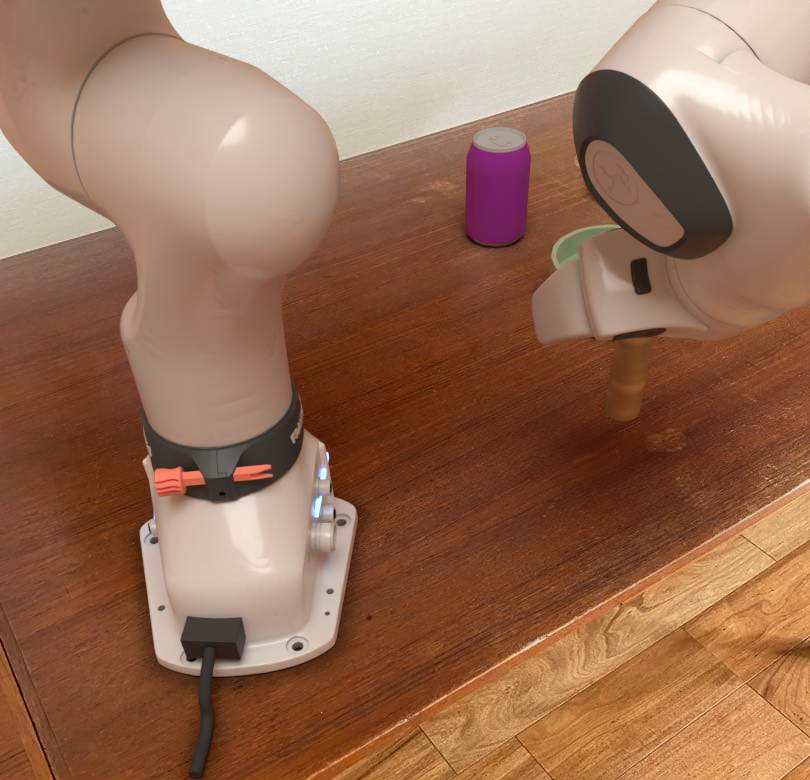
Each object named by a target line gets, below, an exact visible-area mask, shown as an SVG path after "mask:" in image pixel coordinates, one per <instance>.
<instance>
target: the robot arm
mask: <svg viewBox="0 0 810 780" xmlns="http://www.w3.org/2000/svg"><path fill="white" fill-rule="evenodd" d="M571 117H572V119H571V121H572V137H573V144H574V149H575V154H576V158H577V162H578V165H579V170H580V173H581V176H582V179H583V182H584V184H585V186H586V189H587V190H588V192H589V193H590V195H591V197H592V198H593V199H594V201H596V203H597V204H598V206H600V208H601V209H602V210H603V211H604V213H606V214H607V216H608V217H609V218H610V219H611V220H612V221H613V222H614V223H615V224H616V225H619V226H620V227H621V228H618V229H614V230H610V231H607V232H605V233H602V234H598V235H595V236H592V237H590V238H588V239H586V240H585V241H584V242H583V243H582V244H581V245H580V246H579V258H577V259H575V260H573V261H571V262H569V263H567V264H565V265H563V266H562V267H560V268H559V269H558V270H556V271H555V272H554V273H553V274H552V275H551V276H550V277H549V276H548V277H547V278H546V279H545V280H544V281H542V283H541V284H540V285H539V286H538V287H537V289H536V290H535V291H534V292H533V294H532V296H531V299H530V302H531V303H530V308H531V316H532V321H533V327H534V332H535V335H536V339H537V341H538V342H539V343H540V345H543V346H553V345H557V344H562V343H566V342H572V341H577V340H579V341H580V340H583V339H584V340H585V339H591V338H594V339H595V340H596V341H599V342H605V341H615V340H622V339H631V338H644V337H654V336H655V338H656V337H657V338H670V339H681V340H682V339H685V340H686V339H691V340H696V341H701V342H716V341H717V342H718V341H723V340H726V339H729V338H732V337H735V336H737V335H739V334H742V333H745V332H747V331H749V330H752V329H754V328H756V327H759V326H761V325H764V324H766V323H769V322H771V321H773V320H776V319H778V318H779V317H781V316H782V315H784V314H785V313H787V312H788V311H789V310H794V309H795V310H796V309H801V308H804V307H807V306H810V0H656V1H655V2H654V3H653V4H652V5H651V6H650V8H649V9H647V10H646V12H644V13H643V14H641V15H640V16H639V17H638V19H637V20H636V21H634V23H633V24H632V25H631V26H630V27H629V28H628V29H627V30H626V31H625V32H624V33H623V34H622V35H621V37H620V38H618V40H617V41H616V42H615V43H614V44H613V45H612V46H611V48H610V49H609V50H608V51H607V52H606V53H605V54H604V56H602V57H601V59H600V60H599V61H598V63H596V64H595V66H594V67H592V69H591V70H590V71H589V72H588V74H586V75H585V76H584V77H582V80H581V81H580V82H579V84H578V86H577V88H576V91H575V93H574V99H573V105H572V116H571ZM0 131H1V133H2V134H3V136H4V138H5V139H6V140H7V142H8V143H9V144H10V145H11V147H12V148H13V149H14V150H15V151H16V153H17V154H18V155H19V156H20V157H21V159H23V161H24V162H26V164H27V165H28V166H29V167H30V168H31V169H32V170H33V171H34V172H35V173H36V174H37V175H38V176H39V177H40V178H41V179H42V180H43V181H44V182H45V183H46V184H48V186H50V187H51V188H52V189H54V190H55V191H56V192H58V193H60V194H62V195H63V196H65V197H67V198H69V199H71V200H72V201H74V202H76V203H78V204H80V205H81V206H83V207H85V208H87V209H89V210H91V211H93V212H94V213H97V214H98V215H100V216H102V217H103V218H105V219H107V220H109V221H110V222H112V223H113V224H114V225H115V227H116V228H117V229H118V231H119V233H121V235H122V236H123V238H124V239H125V242H126V243H127V244H128V246H129V248H130V250H131V253H132V256H133V258H134V263H135V269H136V278H137V279H136V280H137V281H136V283H137V290H135V292H134V293H133V294H132V295H131V297H130V298H129V299H128V300H127V302H126V304H125V306H124V307H123V310H122V312H121V316H120V320H119V336H120V339H121V342H122V346H123V349H124V351H125V354H126V357H127V360H128V364H129V367H130V371H131V373H132V376H133V379H134V382H135V385H136V388H137V392H138V395H139V398H140V401H141V404H142V407H141V420H142V428H143V429H142V431H143V437H144V442H145V446H146V451H147V452H148V454H147V455H146V457H145V458H144V459H143V460H142V466H143V468H144V471H145V473H146V477H147V479H148V482H149V489H150V496H151V502H152V503H151V504H152V508H153V509H152V510H153V517H152V518H150V519H148V521H146V522H145V523H144V524H143V525H142V526H141V527H140V529H139V541H140V549H141V557H142V563H143V571H144V579H145V580H144V581H145V588H146V595H147V602H148V612H149V618H150V624H151V626H150V627H151V633H152V641H153V649H154V653H155V657H156V661H157V663H158V664H159V665H160V666H162V667H164V668H166V669H167V670H168V669H169V670H170V671H173V672H177V673H180V674H183V675H184V674H185V675H188V676H189V675H190V676H196V677H199V679H198V691H197V693H198V695H197V699H198V704H199V710H200V718H201V719H200V727H199V735H198V738H197V739H198V740H197V744H196V746H195V750H194V754H193V757H192V761H191V764H190V768H189V772H188V776H189V777H191V778H194V779H199V778H202V776H203V771H204V769H205V768H204V767H205V764H206V760H207V757H208V754H209V750H210V747H211V746H210V745H211V742H212V737H213V731H214V723H215V712H214V707H213V702H212V701H213V700H212V685H213V684H212V683H213V678H214V677H215V678H216V677H217V678H220V677H224V678H225V677H226V678H227V677H238V676H251V675H257V674H258V675H259V674H264V673H265V674H266V673H270V672H275V671H280V670H286V669H289V668H292V667H296V666H298V665H301V664H304V663H306V662H309V661H311V660H313V659H315V658H317V657H319V656H321V655H323V654H325V653H326V652H327V651H329V650H330V649H332V648H333V647H334V645H335V644H336V641H337V639H338V635H339V629H340V623H341V617H342V613H343V607H344V602H345V601H344V600H345V595H346V590H347V584H348V578H349V573H350V569H351V568H350V567H351V562H352V556H353V549H354V545H355V539H356V534H357V528H358V522H359V515H358V512H357V509H356V507H355V506H354V504H352V503H350V502H349V501H347V500H344V499H342V498H339V497H336V496H335V495H334V489H333V483H332V482H333V481H332V479H331V478H332V477H331V472H330V465H329V460H330V456H329V452H328V451H327V448H326V445H325V443H324V442H322V441H321V440H320V439H318V438H317V437H316V436H314V435H313V434H311V432H309V431H308V430H307V429H306V428H305V424H304V408H303V404H302V399H301V396H300V394H299V390H298V387H297V384H296V383H295V381H294V379H293V378H292V377H291V374H290V366H289V358H288V352H287V345H286V337H285V328H284V321H283V298H284V297H283V295H284V289H285V284H286V280H287V276H288V274H289V273H290V272H292V271H294V270H295V269H297V268H298V267H299V266H301V265H302V264H303V263H304V262H305V261H307V259H309V257H311V255H312V254H313V253H314V252H315V251H316V250H317V248H318V247H319V246H320V245H321V243H322V242H323V240H324V238H325V237H326V235H327V233H328V231H329V229H330V227H331V226H332V222H333V220H334V218H335V214H336V211H337V209H338V205H339V204H338V203H339V200H340V192H341V181H342V180H341V178H342V177H341V160H340V154H339V150H338V146H337V143H336V140H335V137H334V134H333V132H332V130H331V128H330V126H329V124H328V123H327V121H326V120H325V119H324V118H323V116H322V115H321V114H320V112H318V111H317V110H316V109H315V108H314V107H313V106H312V105H310V104H309V103H307V102H306V101H305V100H303V99H302V98H301V97H300V96H299V95H297V94H296V93H294V92H293V91H292V90H291V89H289V88H288V87H287V86H285V85H284V84H283V83H281V82H280V81H278V80H277V79H275V78H274V77H273V76H271V75H270V74H268V73H267V72H265V71H264V70H262V69H261V68H259V67H258V66H256V65H253V64H251V63H249V62H246V61H243V60H240V59H238V58H234V57H231V56H228V55H225V54H222V53H220V52H217V51H214V50H211V49H209V48H206V47H203V46H199V45H196V44H195V43H194V44H193V43H190V42H188V41H186V40H184V38H183V37H182V36H181V35H180V34H179V32H178V31H177V30H176V28H175V27H174V25H173V24H172V23H171V21H170V19H169V18H168V16H167V14H166V11H165V9H164V6H163V3H162V0H0ZM299 648H301V649H300V650H296V649H299ZM193 659H195V660H194V661H191V660H193Z"/></svg>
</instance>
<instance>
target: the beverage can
mask: <svg viewBox="0 0 810 780" xmlns="http://www.w3.org/2000/svg"><path fill="white" fill-rule="evenodd" d="M465 159H466V160H465V161H466V162H465V202H464V203H465V205H464V206H465V207H464V211H465V212H464V217H465V218H464V227H465V229H464V230H465V232H466V234H467V236H469V237H470V238H471V239H472V240H473V241H474V242H475V243H477V244H479V245H482V246H486V247H496V248H499V247H506V246H509V245H512V244H514V243H515V242H517V241H518V240H519V239H520V238H522V237H523V236H524V234H525V233H526V228H527V216H528V205H529V191H530V178H531V177H530V176H531V162H532V153H531V151H530V147H529V144H528V140H527V136H526V134H525V133H524V132H522V131H520V130H518V129H515V128H511V127H506V126H505V127H504V126H502V127H500V126H495V127H488V128H485V129H480V130H479V131H477V132H475V134H474V135H473V137H472V141H471V143H470V146H469V149H468V151H467V154H466V158H465Z"/></svg>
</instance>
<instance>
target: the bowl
mask: <svg viewBox="0 0 810 780" xmlns="http://www.w3.org/2000/svg"><path fill="white" fill-rule="evenodd" d="M618 228H621V227H620V226H619V225H618V224H597V225H590V226H586V227H582V228H578V229H574V230H572V231H570V232H569V233H566V234H564V235H563V236H561V237H560V238H559V239H558V240H557V241H556V243H554V244H553V246H552V249H551V253H550V259H549V270H548V278H549V277H550V276H551V275H552V274H553V273H554V272H555V271H556V270H558V269H559V268H560V267H562V266H563V265H565V264H567V263H569V262H571V261H573V260H575V259H577V258H579V246H580V245H581V244H582V243H583V242H584V241H585V240H586V239H588V238H590V237H592V236H595V235H598V234H602V233H605V232H607V231H610V230H614V229H618Z"/></svg>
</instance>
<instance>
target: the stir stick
mask: <svg viewBox="0 0 810 780" xmlns="http://www.w3.org/2000/svg"><path fill="white" fill-rule="evenodd" d="M655 338H656V337H655V336H654V337H644V338H631V339H622V340H614V347H613V351H612V359H611V364H610V371H609V378H608V382H607V389H606V395H605V401H604V405H603V406H604V407H603V410H604V411H603V412H604V413H605V414H606V416H607V417H608V418H610V419H612V420H615V421H619V422H630V421H633V420H634V419H636V418H637V417H638V416H639V414H640V410H641V407H642V401H643V396H644V390H645V386H646V380H647V377H648V371H649V366H650V363H651V362H650V361H651V356H652V352H653V348H654V347H653V346H654V342H655Z"/></svg>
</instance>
